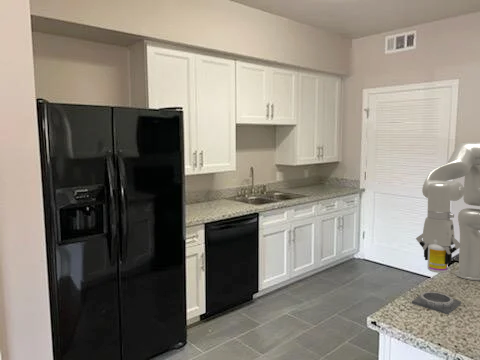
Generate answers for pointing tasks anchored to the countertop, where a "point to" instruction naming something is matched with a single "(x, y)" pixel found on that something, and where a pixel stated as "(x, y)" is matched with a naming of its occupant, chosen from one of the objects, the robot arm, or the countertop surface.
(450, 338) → the countertop surface
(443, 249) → the supplement bottle
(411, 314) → the countertop surface
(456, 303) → the ring plate
